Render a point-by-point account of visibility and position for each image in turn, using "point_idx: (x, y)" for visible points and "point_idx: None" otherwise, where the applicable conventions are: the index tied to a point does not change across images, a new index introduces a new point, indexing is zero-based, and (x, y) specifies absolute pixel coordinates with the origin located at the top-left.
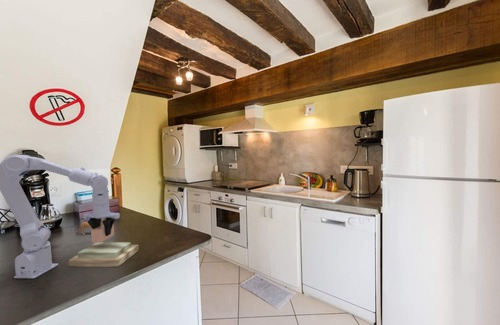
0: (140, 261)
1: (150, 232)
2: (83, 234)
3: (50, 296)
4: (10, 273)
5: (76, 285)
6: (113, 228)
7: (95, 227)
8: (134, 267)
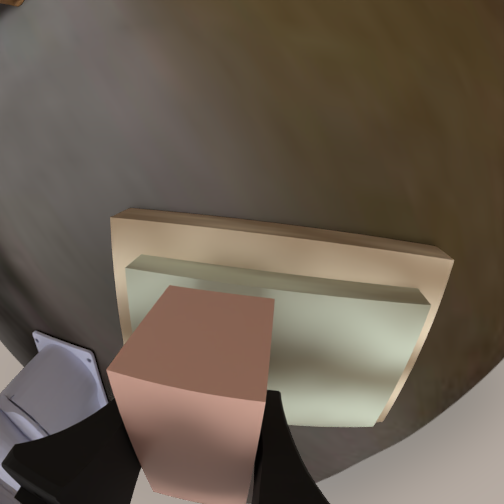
0: (455, 363)
1: None
2: None
3: None
4: (21, 358)
5: None
6: (269, 353)
7: (135, 471)
8: (436, 399)
